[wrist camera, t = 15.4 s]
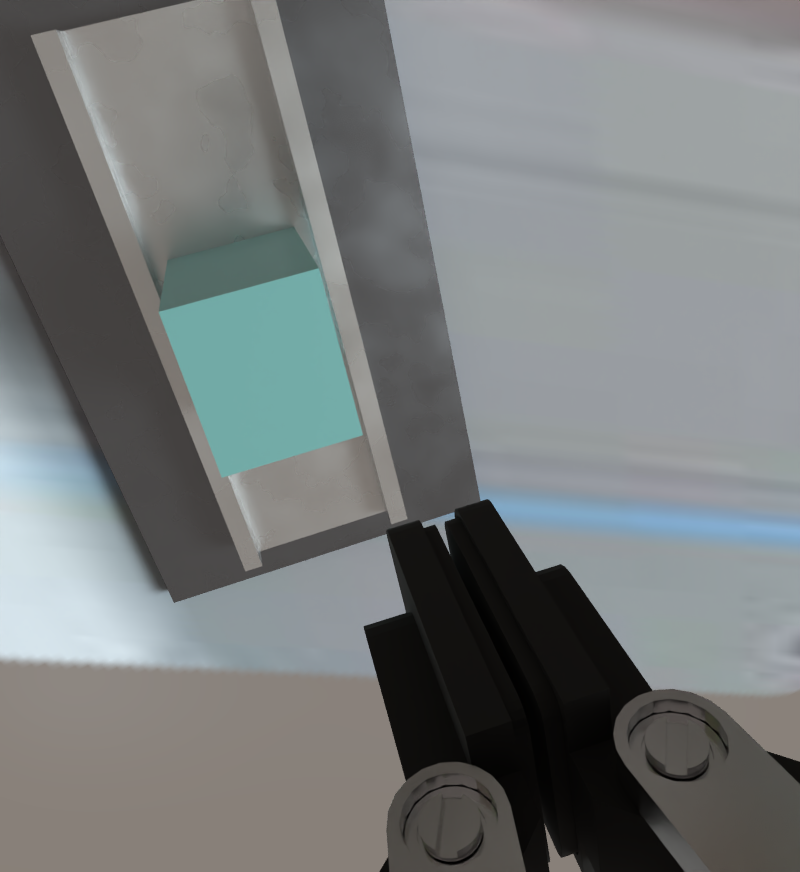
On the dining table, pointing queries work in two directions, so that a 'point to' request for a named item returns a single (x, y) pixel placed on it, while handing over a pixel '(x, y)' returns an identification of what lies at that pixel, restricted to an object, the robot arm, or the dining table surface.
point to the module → (258, 350)
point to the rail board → (220, 225)
